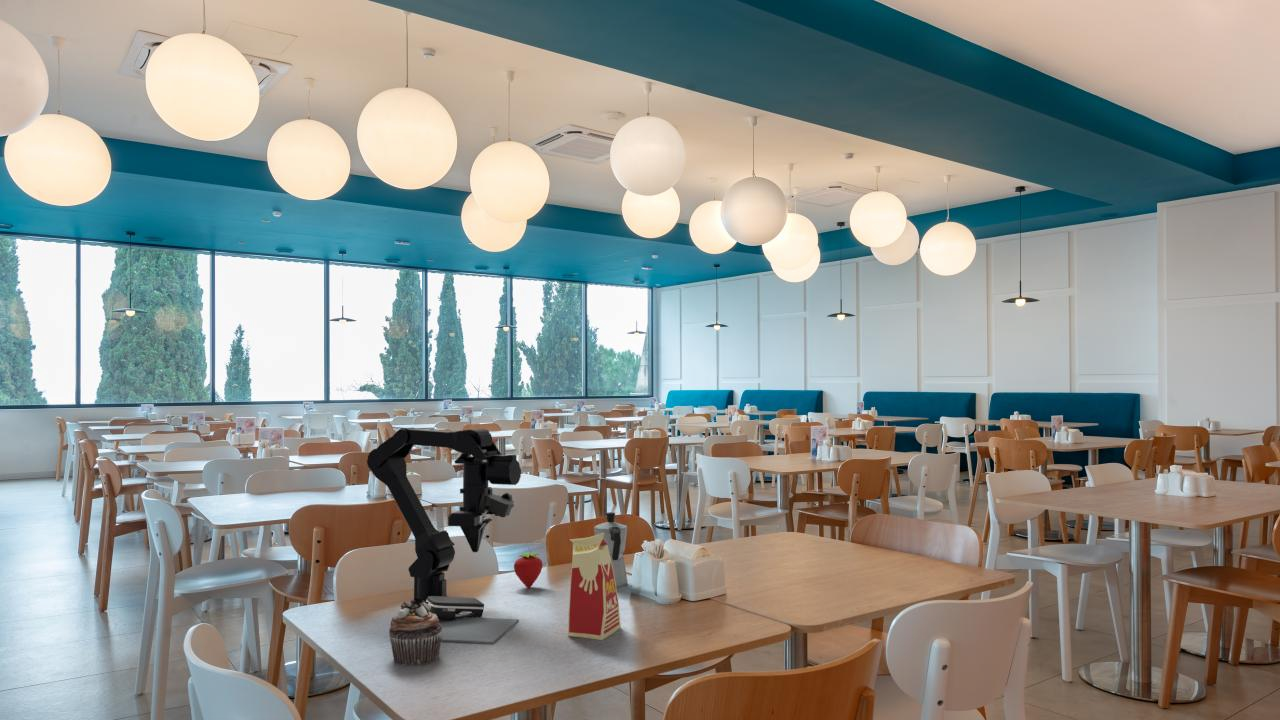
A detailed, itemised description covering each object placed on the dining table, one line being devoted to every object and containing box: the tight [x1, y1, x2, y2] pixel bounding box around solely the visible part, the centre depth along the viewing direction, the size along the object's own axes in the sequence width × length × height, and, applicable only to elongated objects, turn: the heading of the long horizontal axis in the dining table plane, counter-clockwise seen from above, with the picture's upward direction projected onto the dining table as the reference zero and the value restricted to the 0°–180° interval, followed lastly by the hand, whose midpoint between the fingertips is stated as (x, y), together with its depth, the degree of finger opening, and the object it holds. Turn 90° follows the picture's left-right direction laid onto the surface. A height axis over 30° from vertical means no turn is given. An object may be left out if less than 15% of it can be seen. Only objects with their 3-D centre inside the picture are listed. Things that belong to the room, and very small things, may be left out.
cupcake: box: [388, 600, 444, 666], centre depth 148 cm, size 10×10×10 cm
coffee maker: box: [593, 511, 629, 588], centre depth 204 cm, size 15×9×18 cm, turn 14°
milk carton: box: [567, 533, 622, 641], centre depth 164 cm, size 9×9×20 cm
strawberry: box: [513, 546, 544, 588], centre depth 201 cm, size 6×8×10 cm
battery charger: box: [426, 596, 485, 620], centre depth 173 cm, size 7×4×11 cm
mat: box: [439, 615, 520, 645], centre depth 165 cm, size 18×16×1 cm
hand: (475, 552), depth 185 cm, fingers closed
